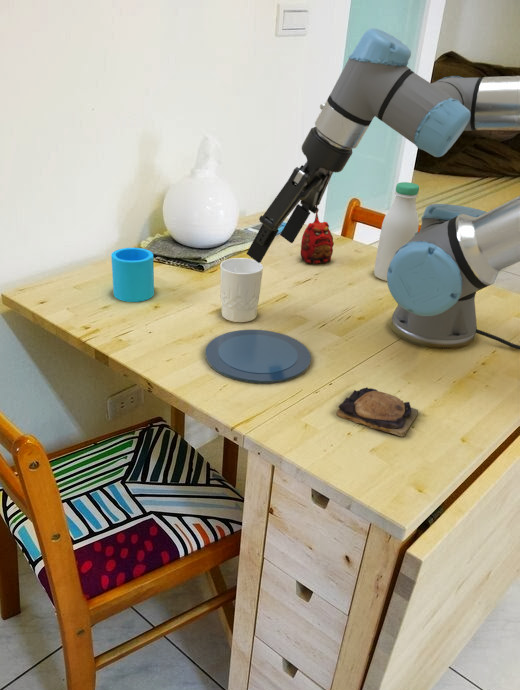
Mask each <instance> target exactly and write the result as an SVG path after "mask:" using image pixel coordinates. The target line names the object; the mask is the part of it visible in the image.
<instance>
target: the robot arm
mask: <svg viewBox="0 0 520 690" xmlns="http://www.w3.org/2000/svg"><path fill="white" fill-rule="evenodd" d="M411 55H412V52H411V49H410V48H409V47H408V45H406V44H404V42H402V41H401V40H399V39H398V38H397V37H395V36H394V35H392V34H390V33H388V32H386V31H384V30H381V29H379V28H369V29H367V30H366V31H365V32H364V33H363V35H362V36H361V38H360V39H359V41H358V43H357V45H356V46H355V48H354V50H353V51H352V53H350V55H349V56H348V59H347V61H346V62H345V65H344V67H343V68H342V71H341V72H340V75H339V76H338V79H337V80H336V82H335V84H334V86H333V88H332V90H331V92H330V94H329V96H328V97H327V99H326V101H325V102H322V103H321V104H320V105H319V109H320V113H319V114H318V116H317V118H316V120H315V121H314V127H311V128H310V129H309V132H308V134H307V135H306V137H305V139H304V141H303V143H302V144H301V152H302V154H303V156H305V158H306V162H305V163H304V164H301V166H300V167H298V166H296V167H295V168H294V169H293V170H292V172H291V175H290V176H289V178H288V179H287V181H286V183H285V184H284V185H283V186H282V187H281V189H280V191H279V192H278V194H276V196H275V198H274V199H273V200H272V202H271V204H270V205H268V208H267V209H266V210H265V212H264V214H263V215H260V216H259V218H258V220H259V222H260V223H261V226H260V228H259V230H258V231H257V233H256V234H255V237H254V239H253V241H252V242H251V245H250V246H249V248H248V250H247V251H246V255H247V256H249V257H250V259H252V260H255V261H257V262H258V263H262V261H263V259H264V257H265V255H266V254H267V252H268V251H269V248H270V247H271V245H272V243H273V242H274V240H275V238H276V237H277V234H278V233H279V231H280V230H279V228H280V226H281V225H283V223H284V221H285V220H286V219H287V218H288V216H289V215H290V214H291V215H290V216H289V218H288V220H287V222H286V223H285V225H284V227H283V228H282V230H281V232H280V234H279V236H281V237H282V238H283V239H285V240H286V241H287V242H289V243H290V244H293V243H294V242H295V240H296V239H297V237H298V235H299V233H300V232H301V230H302V228H303V226H304V225H305V223H306V222H307V220H308V218H309V217H310V215H311V213H313V214H314V215H316V212H317V210H318V209H319V205H320V204H321V201H322V199H323V196H324V194H325V192H326V189H327V187H328V185H329V183H330V180H331V178H332V176H333V174H334V173H340V172H342V171H343V170H344V168H345V167H346V165H347V163H348V162H349V160H350V159H351V156H352V155H353V149H356V148H357V147H358V146H359V144H360V143H361V140H362V139H363V137H364V135H365V134H366V132H367V131H368V129H369V127H370V125H371V123H372V121H373V120H374V118H377V119H378V120H379V121H381V122H382V123H384V124H385V125H387V126H388V127H389V128H391V129H392V130H394V132H397V133H398V134H399V135H400V136H402V137H404V138H405V139H406V140H408V141H409V142H410V143H412V144H413V145H415V146H416V148H418V149H419V150H422V151H424V152H426V153H428V154H429V155H431V156H433V157H435V158H440V157H443V156H444V155H445V154H447V153H448V151H449V150H450V149H451V148H452V147H453V145H454V144H455V143H456V141H457V140H458V139H459V138H460V136H461V135H462V134H463V132H464V131H465V132H467V131H520V75H508V76H507V75H506V76H505V75H504V76H484V77H462V76H460V75H451V76H445V77H442V78H440V79H438V80H436V81H434V82H429V81H428V80H427V79H425V78H423V77H422V76H420V75H419V74H417V73H415V71H413V70H412V69H411V68H410V67H408V65H409V60H410V59H411ZM316 206H317V207H316ZM519 262H520V195H518V196H516V197H515V198H511V199H510V200H508V201H506V202H504V203H503V204H500V205H498V206H497V207H494V208H493V209H490V210H489V211H485V210H482V209H478V208H475V207H471V206H464V205H457V204H447V203H432V204H429V205H427V206H426V208H424V211H423V214H422V216H421V224H420V229H419V230H418V233H417V234H416V235H415V236H414V237H413V238H412V239H411V240H410V241H409V242H408V243H406V244H405V245H404V246H402V247H401V248H399V250H398V251H397V252H396V253H395V255H394V257H393V259H392V261H391V262H390V265H389V267H388V272H387V281H386V282H387V288H388V290H389V293H390V295H391V296H392V298H393V300H394V301H395V302H396V303H397V306H396V307H395V309H394V311H393V313H392V315H391V320H390V328H391V330H392V331H393V333H394V334H395V335H396V336H398V337H399V338H400V339H402V340H404V341H406V342H409V343H411V344H413V345H416V346H420V347H422V348H423V347H424V348H429V349H433V350H434V349H435V350H458V349H462V348H466V347H468V346H470V345H471V344H473V342H474V341H475V338H476V334H478V335H480V336H483V337H486V338H488V339H491V340H494V341H496V342H498V343H501V344H503V345H505V346H508V347H509V348H512V349H515V350H519V351H520V345H519V344H515V343H513V342H510V341H508V340H506V339H504V338H501V337H499V336H497V335H494V334H491V333H489V332H486V331H484V330H480V329H478V326H477V325H478V324H477V313H476V312H477V311H476V301H475V300H476V299H475V298H476V294H477V292H478V291H480V290H482V289H485V288H487V287H490V286H492V285H494V284H495V282H496V280H497V277H498V275H499V273H500V271H501V270H503V269H505V268H508V267H511V266H512V265H515V264H517V263H519Z"/></svg>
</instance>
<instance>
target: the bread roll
mask: <svg viewBox="0 0 520 690" xmlns="http://www.w3.org/2000/svg"><path fill="white" fill-rule="evenodd" d="M419 413H420V412H419V410H418V409H416V408H414V407H412V406H411V404H410V401H405V402H404V400H402V399H401V398H399V397H397V396H395V395H392V394H390V393H388V392H387V393H386V392H384V391H379V390H378V389H375V388H371V387H370V388H368V387H367V386H366V387H363V388H360V389H359V390H356V389H355V390H353V391H352V393H351V394H350V395H349V396H348V397H345V399H344V401H343V402H342V403H340V404H339V405H338V409H337V411H336V416H338V417H340V418H343V419H345V420H349V421H352V422H354V423H356V424H362V425H365V426H367V428H370V429H374V430H377V431H381V432H385V433H389V434H393V435H395V436H398V437H401V438H402V437H405V435H407V432H409V430H410V428H411V427H412V424H413V423H414V422H415V420H416V418H417V416H418V415H419Z"/></svg>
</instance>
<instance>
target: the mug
mask: <svg viewBox="0 0 520 690" xmlns="http://www.w3.org/2000/svg"><path fill="white" fill-rule="evenodd" d="M110 255H111V272H112V291H113V297H115V298H116V299H117V300H119V301H122V302H128V303H139V302H145V301H148V300H150V299H151V298H153V297H154V295H155V271H154V270H155V268H154V253H153V252H152V251H151V250H149V249H146V248H142V247H124V248H120V249H119V248H118V249H116V250H114V251H112V253H111V254H110Z"/></svg>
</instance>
